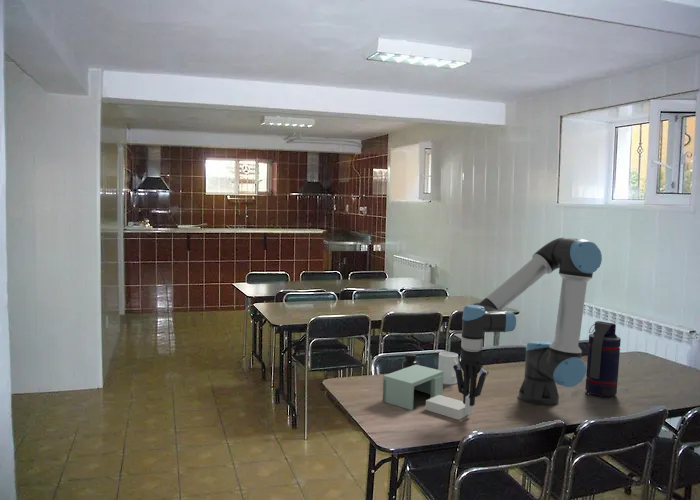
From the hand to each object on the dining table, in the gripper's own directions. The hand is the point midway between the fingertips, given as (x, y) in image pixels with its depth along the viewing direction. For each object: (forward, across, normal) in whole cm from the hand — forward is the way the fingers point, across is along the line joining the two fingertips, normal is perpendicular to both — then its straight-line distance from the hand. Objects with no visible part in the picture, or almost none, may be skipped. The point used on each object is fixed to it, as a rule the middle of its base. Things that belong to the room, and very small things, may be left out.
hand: (468, 413), depth 209 cm
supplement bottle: (+2, +38, -19) cm, 42 cm away
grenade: (+2, -26, -62) cm, 68 cm away
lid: (+2, +8, 0) cm, 8 cm away
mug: (+2, +26, -31) cm, 40 cm away
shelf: (+2, +25, -3) cm, 25 cm away
